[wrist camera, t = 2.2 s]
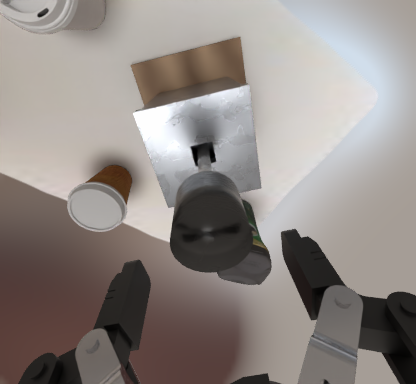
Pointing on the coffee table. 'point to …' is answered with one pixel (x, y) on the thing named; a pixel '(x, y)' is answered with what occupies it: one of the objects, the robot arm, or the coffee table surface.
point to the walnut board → (190, 68)
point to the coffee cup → (54, 14)
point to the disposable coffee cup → (101, 200)
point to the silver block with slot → (201, 133)
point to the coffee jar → (250, 259)
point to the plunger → (209, 219)
